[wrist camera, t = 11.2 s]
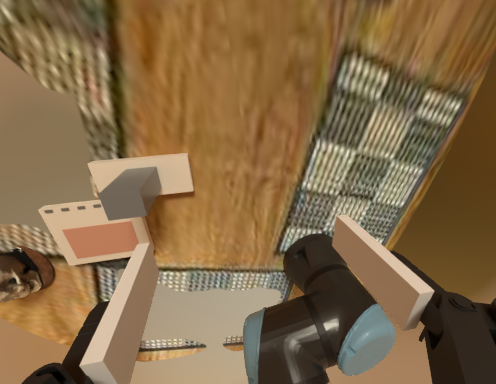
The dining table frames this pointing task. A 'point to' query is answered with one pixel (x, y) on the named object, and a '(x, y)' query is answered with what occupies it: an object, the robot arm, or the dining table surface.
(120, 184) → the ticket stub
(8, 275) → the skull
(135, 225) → the white flat piece
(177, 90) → the dining table surface
